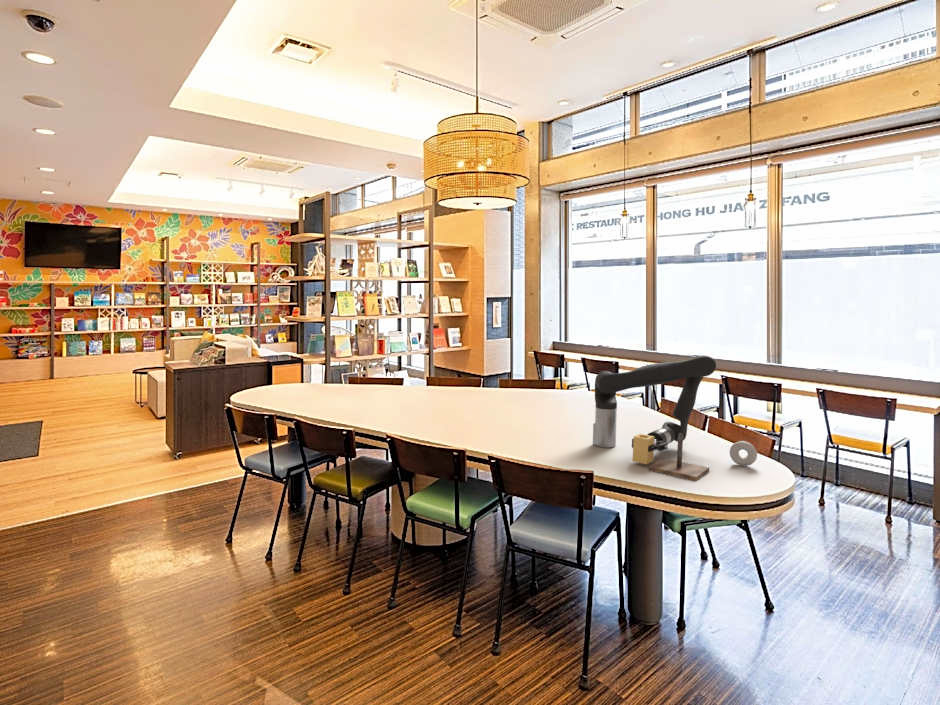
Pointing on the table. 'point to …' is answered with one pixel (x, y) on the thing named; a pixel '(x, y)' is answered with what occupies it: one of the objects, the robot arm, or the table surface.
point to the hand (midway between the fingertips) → (641, 447)
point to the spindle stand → (679, 465)
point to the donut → (747, 447)
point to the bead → (642, 448)
